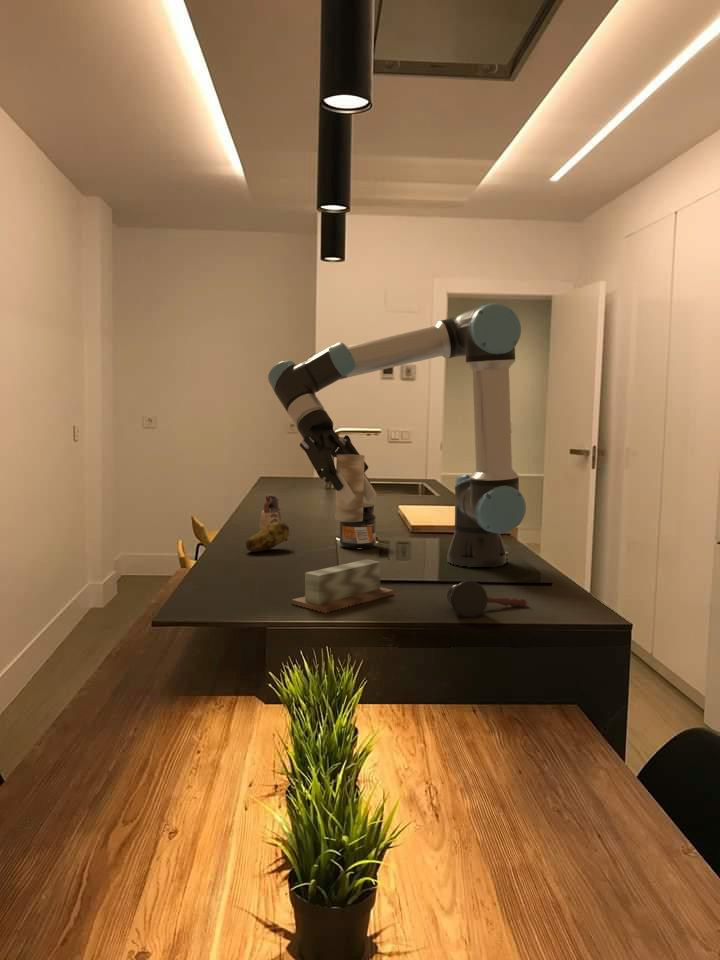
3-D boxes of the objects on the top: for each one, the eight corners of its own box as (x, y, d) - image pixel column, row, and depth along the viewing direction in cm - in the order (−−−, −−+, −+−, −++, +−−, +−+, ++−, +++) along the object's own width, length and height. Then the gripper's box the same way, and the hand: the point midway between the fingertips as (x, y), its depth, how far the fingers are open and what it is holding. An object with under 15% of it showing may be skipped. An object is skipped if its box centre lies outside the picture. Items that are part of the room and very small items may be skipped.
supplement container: (364, 551, 233) (364, 508, 231) (332, 547, 238) (332, 505, 237) (382, 545, 242) (382, 504, 240) (351, 541, 247) (351, 501, 246)
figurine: (287, 531, 264) (286, 494, 262) (272, 535, 258) (272, 496, 256) (269, 529, 267) (269, 492, 266) (254, 532, 261) (254, 494, 260)
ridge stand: (359, 587, 191) (359, 556, 190) (393, 594, 184) (393, 563, 183) (291, 604, 175) (291, 571, 174) (325, 613, 168) (325, 578, 168)
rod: (358, 517, 186) (360, 454, 184) (366, 521, 180) (367, 456, 178) (332, 517, 184) (333, 454, 182) (339, 522, 178) (340, 456, 177)
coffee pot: (449, 617, 165) (439, 612, 173) (536, 626, 167) (522, 621, 175) (453, 579, 165) (443, 576, 174) (540, 588, 168) (526, 585, 176)
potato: (240, 549, 234) (240, 521, 233) (285, 546, 239) (284, 518, 238) (248, 555, 227) (248, 525, 226) (293, 551, 231) (293, 523, 231)
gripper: (332, 429, 197) (382, 506, 188) (270, 431, 183) (320, 514, 174) (349, 407, 193) (400, 485, 183) (287, 407, 179) (339, 491, 170)
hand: (361, 499), depth 179 cm, fingers closed on rod, 6 cm apart
